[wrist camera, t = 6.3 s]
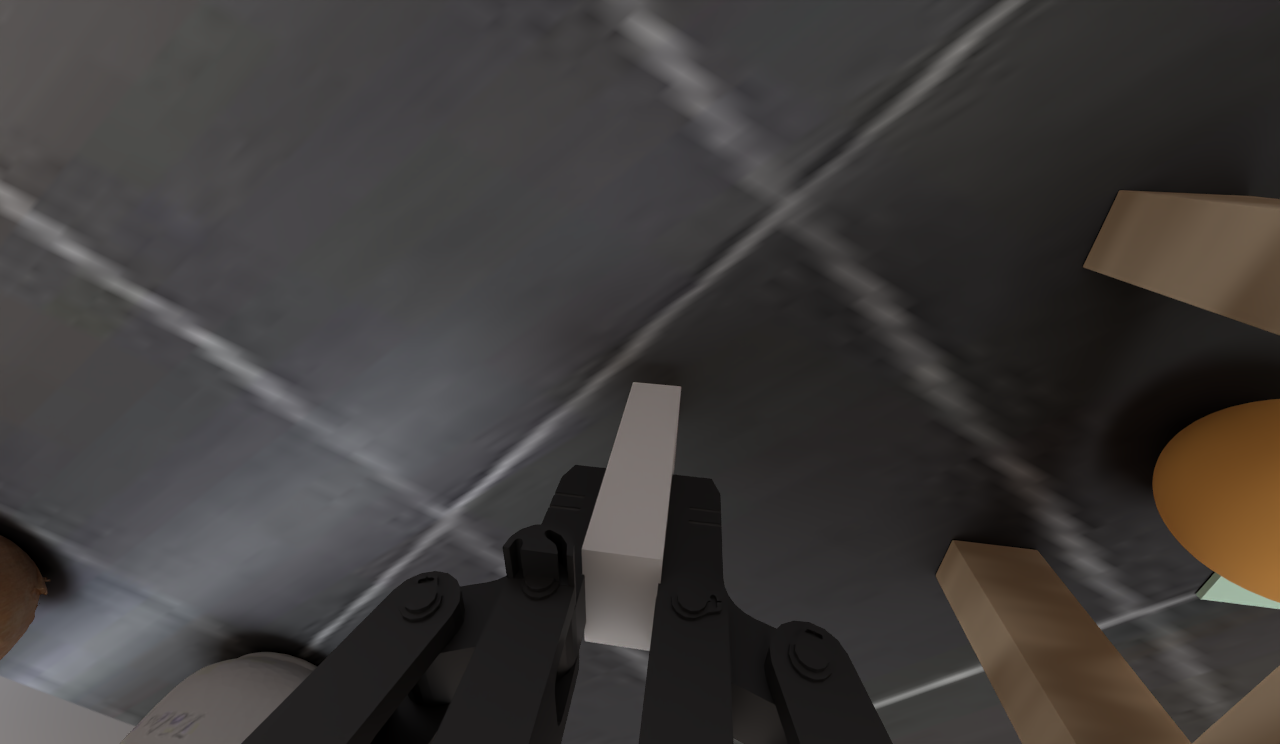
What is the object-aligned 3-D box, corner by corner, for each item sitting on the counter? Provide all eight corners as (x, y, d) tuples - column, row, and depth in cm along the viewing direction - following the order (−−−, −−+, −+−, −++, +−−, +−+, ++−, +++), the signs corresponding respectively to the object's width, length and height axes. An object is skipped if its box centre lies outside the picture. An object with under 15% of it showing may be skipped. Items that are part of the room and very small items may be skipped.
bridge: (1250, 196, 12) (2538, 334, 3) (1015, 586, 18) (1263, 947, 10) (1119, 190, 12) (2018, 305, 4) (935, 575, 18) (1113, 919, 10)
